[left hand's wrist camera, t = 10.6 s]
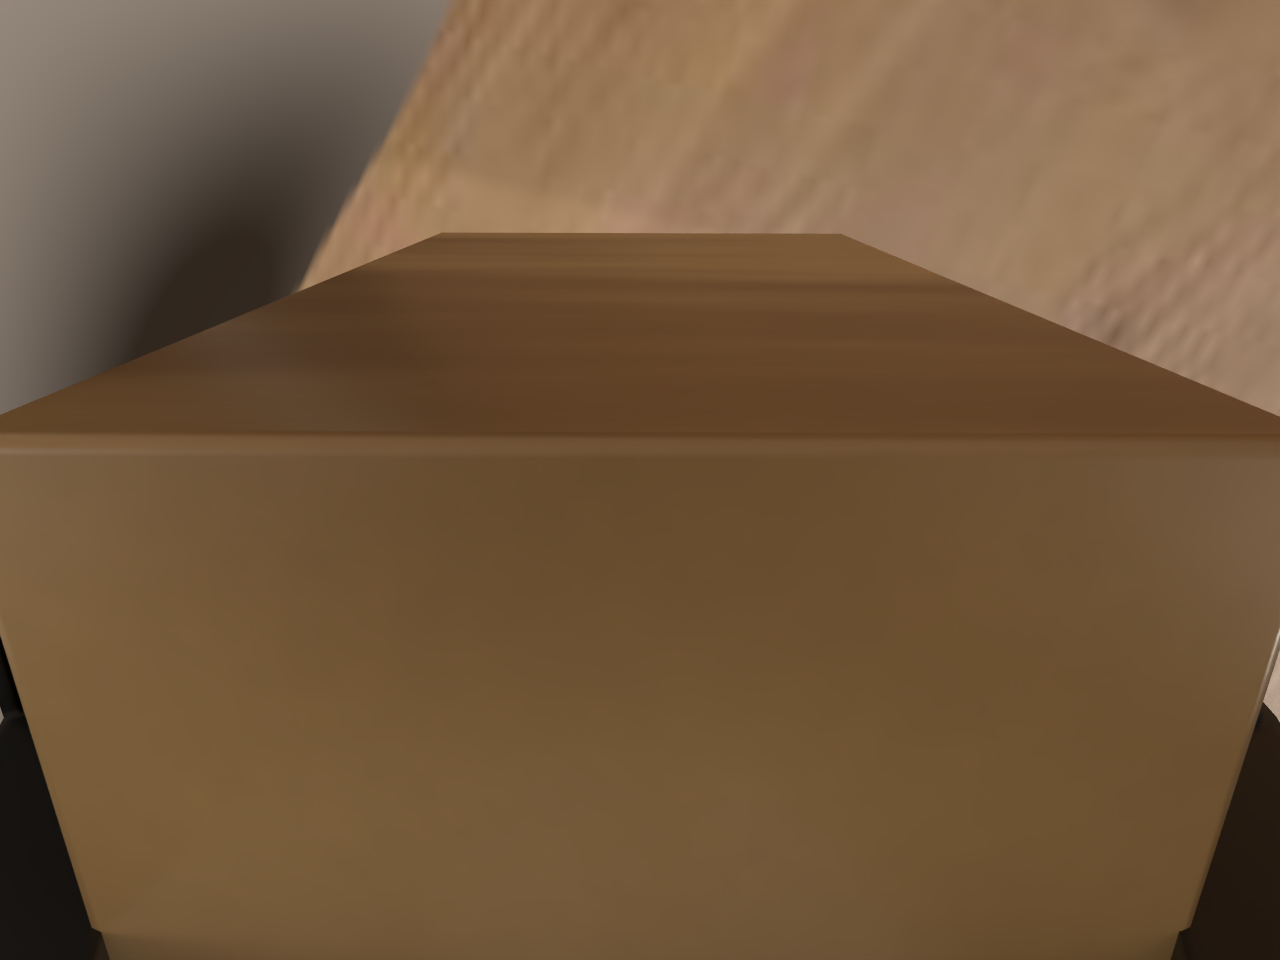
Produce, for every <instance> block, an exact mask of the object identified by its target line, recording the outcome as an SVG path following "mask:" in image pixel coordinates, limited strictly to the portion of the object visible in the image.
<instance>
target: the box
mask: <svg viewBox="0 0 1280 960" xmlns="http://www.w3.org/2000/svg"><path fill="white" fill-rule="evenodd" d="M0 636H1V639H2V642H3V646H4V649H5V652H6V655H7V658H8V662H9V665H10V668H11V671H12V674H13V678H14V681H15V684H16V687H17V690H18V694H19V697H20V700H21V703H22V706H23V710H24V713H25V716H26V719H27V722H28V726H29V729H30V732H31V735H32V738H33V742H34V745H35V748H36V751H37V754H38V758H39V761H40V764H41V767H42V770H43V774H44V777H45V780H46V783H47V786H48V790H49V793H50V796H51V799H52V802H53V806H54V809H55V812H56V815H57V818H58V821H59V825H60V828H61V831H62V834H63V837H64V841H65V844H66V847H67V850H68V853H69V857H70V860H71V863H72V866H73V869H74V873H75V876H76V879H77V882H78V885H79V889H80V892H81V895H82V898H83V901H84V905H85V908H86V911H87V914H88V917H89V921H90V924H91V927H92V928H94V929H96V930H98V931H100V932H101V933H102V936H103V939H104V942H105V946H106V949H107V952H108V955H109V958H110V960H1170V959H1171V956H1172V953H1173V950H1174V947H1175V944H1176V940H1177V937H1178V934H1179V931H1183V930H1185V929H1187V928H1189V927H1191V923H1192V920H1193V917H1194V914H1195V911H1196V908H1197V905H1198V902H1199V899H1200V896H1201V892H1202V889H1203V886H1204V883H1205V880H1206V877H1207V874H1208V871H1209V868H1210V864H1211V861H1212V858H1213V855H1214V852H1215V849H1216V846H1217V843H1218V840H1219V836H1220V833H1221V830H1222V827H1223V824H1224V821H1225V818H1226V815H1227V812H1228V808H1229V805H1230V802H1231V799H1232V796H1233V793H1234V790H1235V787H1236V784H1237V781H1238V777H1239V774H1240V771H1241V768H1242V765H1243V762H1244V759H1245V756H1246V753H1247V749H1248V746H1249V743H1250V740H1251V737H1252V734H1253V731H1254V728H1255V725H1256V721H1257V718H1258V715H1259V712H1260V709H1261V706H1262V703H1263V700H1264V697H1265V693H1266V690H1267V687H1268V684H1269V681H1270V678H1271V675H1272V672H1273V669H1274V665H1275V662H1276V659H1277V656H1278V653H1279V650H1280V417H1279V416H1276V415H1274V414H1272V413H1269V412H1267V411H1264V410H1262V409H1260V408H1257V407H1255V406H1252V405H1250V404H1248V403H1245V402H1243V401H1240V400H1238V399H1236V398H1233V397H1231V396H1228V395H1226V394H1224V393H1221V392H1219V391H1216V390H1214V389H1212V388H1209V387H1207V386H1204V385H1202V384H1200V383H1197V382H1195V381H1192V380H1190V379H1188V378H1185V377H1183V376H1180V375H1178V374H1176V373H1173V372H1171V371H1168V370H1166V369H1164V368H1161V367H1159V366H1156V365H1154V364H1152V363H1149V362H1147V361H1144V360H1142V359H1140V358H1137V357H1135V356H1132V355H1130V354H1128V353H1125V352H1123V351H1120V350H1118V349H1116V348H1113V347H1111V346H1108V345H1106V344H1104V343H1101V342H1099V341H1096V340H1094V339H1092V338H1089V337H1087V336H1084V335H1082V334H1080V333H1077V332H1075V331H1072V330H1070V329H1068V328H1065V327H1063V326H1060V325H1058V324H1056V323H1053V322H1051V321H1048V320H1046V319H1044V318H1041V317H1039V316H1036V315H1034V314H1032V313H1029V312H1027V311H1024V310H1022V309H1020V308H1017V307H1015V306H1012V305H1010V304H1008V303H1005V302H1003V301H1000V300H998V299H996V298H993V297H991V296H988V295H986V294H984V293H981V292H979V291H976V290H974V289H972V288H969V287H967V286H964V285H962V284H960V283H957V282H955V281H952V280H950V279H948V278H945V277H943V276H940V275H938V274H936V273H933V272H931V271H928V270H926V269H924V268H921V267H919V266H916V265H914V264H912V263H909V262H907V261H904V260H902V259H900V258H897V257H895V256H892V255H890V254H888V253H885V252H883V251H880V250H878V249H876V248H873V247H871V246H868V245H866V244H864V243H861V242H859V241H856V240H854V239H852V238H849V237H847V236H844V235H842V234H687V233H440V234H437V235H435V236H433V237H430V238H428V239H425V240H423V241H420V242H418V243H416V244H413V245H411V246H408V247H406V248H404V249H401V250H399V251H396V252H394V253H391V254H389V255H387V256H384V257H382V258H379V259H377V260H374V261H372V262H370V263H367V264H365V265H362V266H360V267H357V268H355V269H353V270H350V271H348V272H345V273H343V274H341V275H338V276H336V277H333V278H331V279H328V280H326V281H324V282H321V283H319V284H316V285H314V286H311V287H309V288H307V289H304V290H302V291H299V292H297V293H295V294H292V295H290V296H287V297H285V298H282V299H280V300H278V301H275V302H273V303H270V304H268V305H266V306H263V307H261V308H258V309H256V310H253V311H251V312H249V313H246V314H244V315H241V316H239V317H237V318H234V319H232V320H229V321H227V322H224V323H222V324H220V325H217V326H215V327H212V328H210V329H207V330H205V331H203V332H200V333H198V334H195V335H193V336H190V337H188V338H186V339H183V340H181V341H178V342H176V343H173V344H171V345H169V346H166V347H164V348H161V349H159V350H157V351H154V352H152V353H149V354H147V355H144V356H142V357H140V358H137V359H135V360H132V361H130V362H127V363H125V364H123V365H120V366H118V367H115V368H113V369H110V370H108V371H106V372H103V373H101V374H98V375H96V376H94V377H91V378H89V379H86V380H84V381H81V382H79V383H77V384H74V385H72V386H69V387H67V388H64V389H62V390H60V391H57V392H55V393H52V394H50V395H48V396H45V397H43V398H40V399H38V400H35V401H33V402H31V403H28V404H26V405H23V406H21V407H18V408H16V409H14V410H11V411H9V412H6V413H4V414H2V415H0Z"/></svg>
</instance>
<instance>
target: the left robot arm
mask: <svg viewBox="0 0 1280 960" xmlns="http://www.w3.org/2000/svg"><path fill="white" fill-rule="evenodd" d="M0 707H1V710H2V713H3V716H4V719H3V721H2V722H1V724H0V960H110V958H109V955H108V952H107V949H106V946H105V942H104V939H103V936H102V933H101V932H100V931H98V930H96V929H94V928H92V927H91V924H90V921H89V917H88V914H87V911H86V908H85V905H84V901H83V898H82V895H81V892H80V889H79V885H78V882H77V879H76V876H75V873H74V869H73V866H72V863H71V860H70V857H69V853H68V850H67V847H66V844H65V841H64V837H63V834H62V831H61V828H60V825H59V821H58V818H57V815H56V812H55V809H54V806H53V802H52V799H51V796H50V793H49V790H48V786H47V783H46V780H45V777H44V774H43V770H42V767H41V764H40V761H39V758H38V754H37V751H36V748H35V745H34V742H33V738H32V735H31V732H30V729H29V726H28V722H27V719H26V716H25V713H24V710H23V706H22V703H21V700H20V697H19V694H18V690H17V687H16V684H15V681H14V678H13V674H12V671H11V668H10V665H9V662H8V658H7V655H6V652H5V649H4V646H3V642H2V639H1V636H0ZM1170 960H1280V722H1279V721H1278V719H1277V717H1276V716H1275V715H1274V714H1273V713H1272V711H1271V710H1270V709H1269V708H1268V707H1267V706H1266V705H1265V704H1264V703H1262V706H1261V709H1260V712H1259V715H1258V718H1257V721H1256V725H1255V728H1254V731H1253V734H1252V737H1251V740H1250V743H1249V746H1248V749H1247V753H1246V756H1245V759H1244V762H1243V765H1242V768H1241V771H1240V774H1239V777H1238V781H1237V784H1236V787H1235V790H1234V793H1233V796H1232V799H1231V802H1230V805H1229V808H1228V812H1227V815H1226V818H1225V821H1224V824H1223V827H1222V830H1221V833H1220V836H1219V840H1218V843H1217V846H1216V849H1215V852H1214V855H1213V858H1212V861H1211V864H1210V868H1209V871H1208V874H1207V877H1206V880H1205V883H1204V886H1203V889H1202V892H1201V896H1200V899H1199V902H1198V905H1197V908H1196V911H1195V914H1194V917H1193V920H1192V923H1191V927H1189V928H1187V929H1185V930H1183V931H1179V934H1178V937H1177V940H1176V944H1175V947H1174V950H1173V953H1172V956H1171V959H1170Z"/></svg>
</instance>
